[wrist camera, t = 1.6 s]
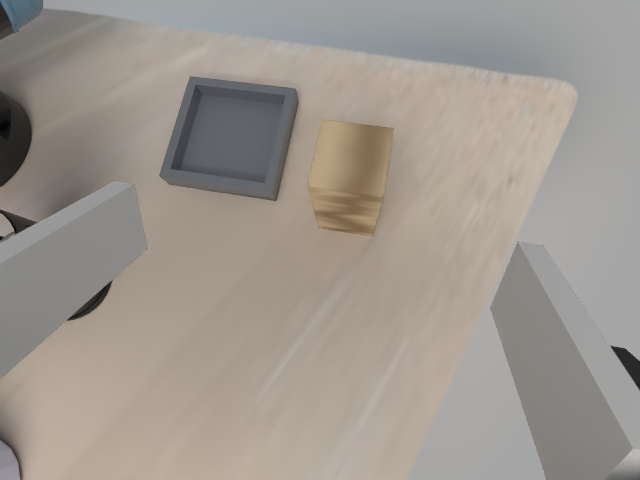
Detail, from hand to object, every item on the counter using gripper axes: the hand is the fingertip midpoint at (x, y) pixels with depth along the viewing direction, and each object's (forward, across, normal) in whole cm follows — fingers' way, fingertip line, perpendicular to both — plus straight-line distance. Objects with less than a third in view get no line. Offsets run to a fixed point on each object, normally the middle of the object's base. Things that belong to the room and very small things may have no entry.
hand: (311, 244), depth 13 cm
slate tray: (+30, -15, -7) cm, 35 cm away
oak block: (+26, 0, -11) cm, 29 cm away
